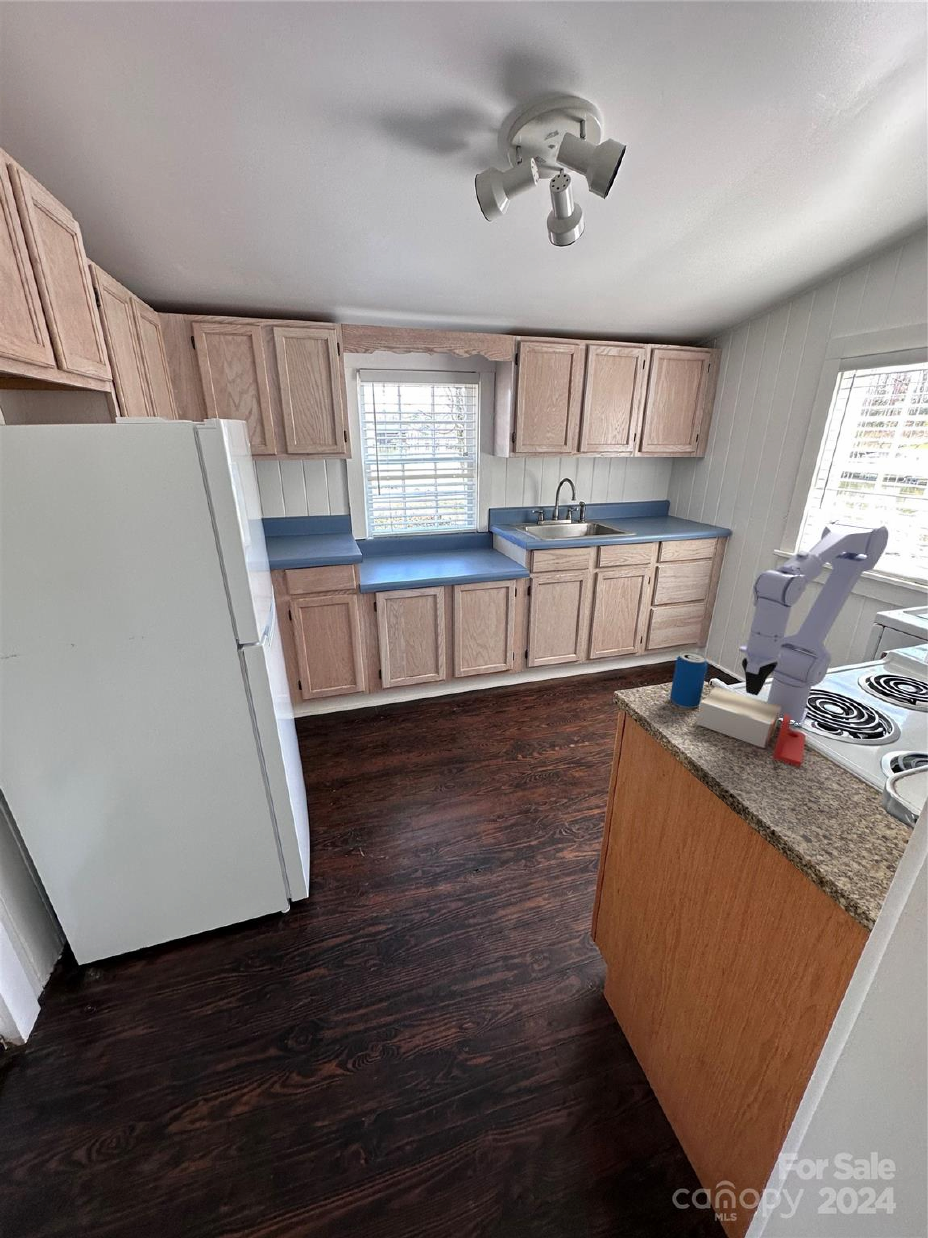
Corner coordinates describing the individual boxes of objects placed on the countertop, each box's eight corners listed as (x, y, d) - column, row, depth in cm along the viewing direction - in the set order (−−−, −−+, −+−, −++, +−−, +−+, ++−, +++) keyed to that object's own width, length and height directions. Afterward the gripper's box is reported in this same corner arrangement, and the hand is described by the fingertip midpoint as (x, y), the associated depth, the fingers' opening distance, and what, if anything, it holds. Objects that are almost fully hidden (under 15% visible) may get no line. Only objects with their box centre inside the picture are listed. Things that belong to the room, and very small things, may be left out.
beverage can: (678, 693, 120) (686, 648, 116) (704, 704, 115) (713, 657, 111) (664, 701, 116) (672, 655, 112) (690, 713, 111) (700, 665, 107)
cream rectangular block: (710, 707, 114) (715, 686, 112) (775, 729, 105) (781, 706, 103) (698, 723, 107) (702, 701, 105) (766, 747, 99) (772, 724, 97)
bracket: (800, 767, 93) (810, 731, 91) (772, 758, 96) (782, 723, 93) (804, 738, 102) (814, 705, 100) (779, 731, 105) (788, 698, 102)
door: (697, 722, 107) (702, 700, 105) (764, 745, 99) (771, 722, 97) (696, 724, 106) (700, 701, 104) (763, 748, 98) (770, 724, 96)
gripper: (753, 617, 104) (740, 675, 109) (735, 636, 94) (721, 699, 98) (792, 625, 99) (776, 685, 104) (777, 647, 89) (760, 711, 94)
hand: (752, 693), depth 101 cm, fingers closed
